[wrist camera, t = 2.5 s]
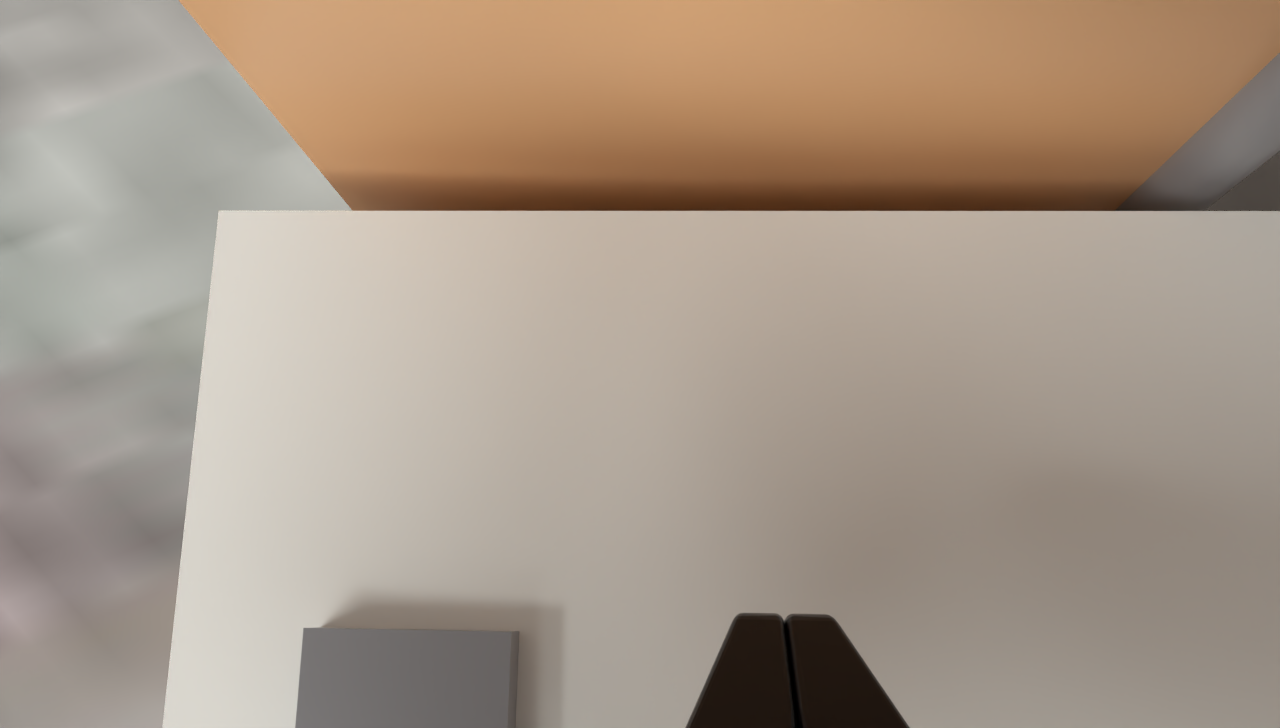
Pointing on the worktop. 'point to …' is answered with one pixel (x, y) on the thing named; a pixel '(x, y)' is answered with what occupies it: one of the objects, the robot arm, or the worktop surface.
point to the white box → (733, 464)
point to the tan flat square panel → (766, 101)
